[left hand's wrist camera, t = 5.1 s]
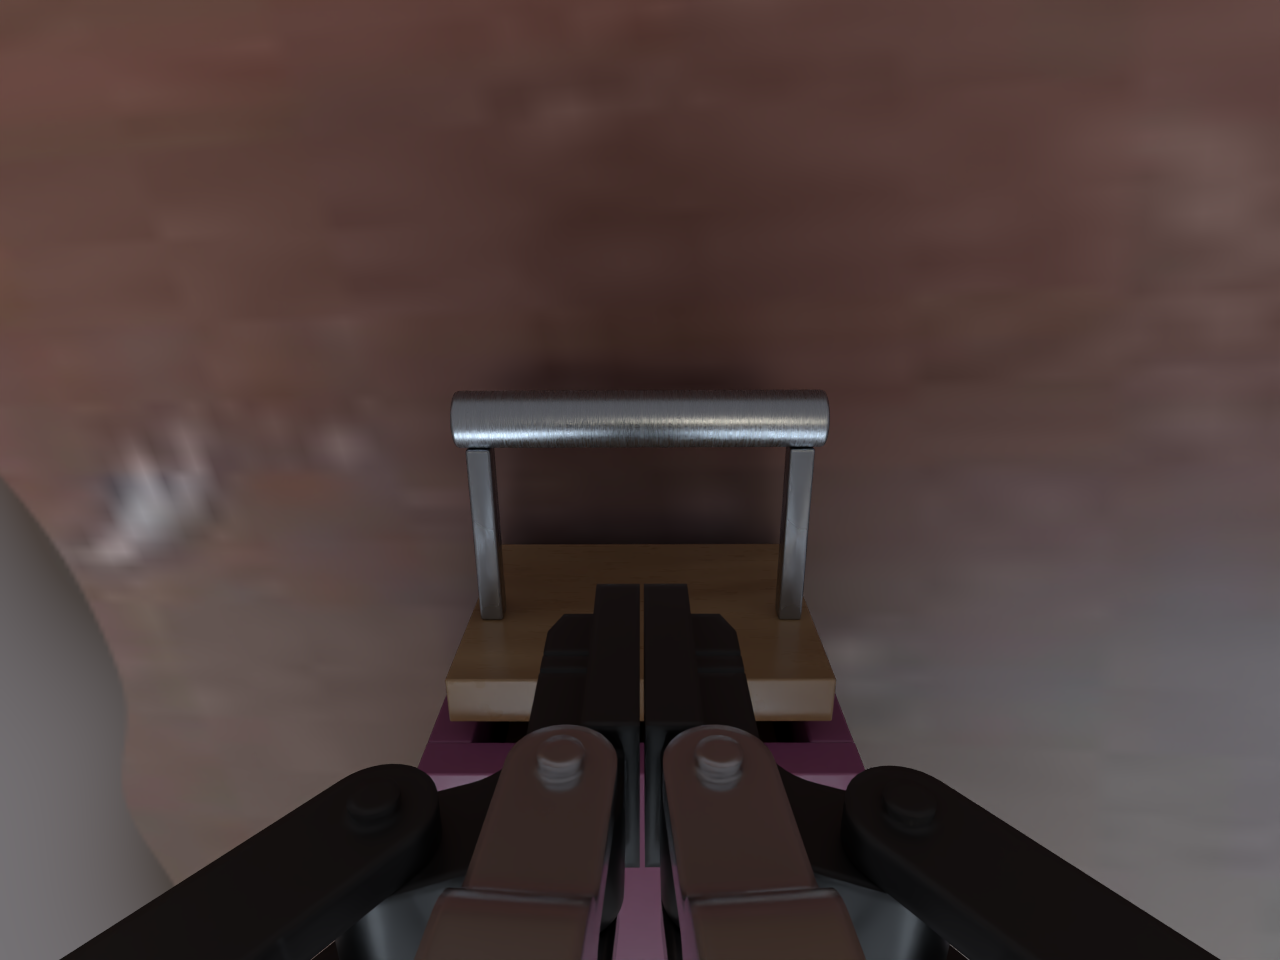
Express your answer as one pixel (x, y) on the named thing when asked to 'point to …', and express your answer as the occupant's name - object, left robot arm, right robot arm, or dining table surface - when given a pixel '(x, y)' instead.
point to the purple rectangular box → (641, 796)
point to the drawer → (640, 546)
